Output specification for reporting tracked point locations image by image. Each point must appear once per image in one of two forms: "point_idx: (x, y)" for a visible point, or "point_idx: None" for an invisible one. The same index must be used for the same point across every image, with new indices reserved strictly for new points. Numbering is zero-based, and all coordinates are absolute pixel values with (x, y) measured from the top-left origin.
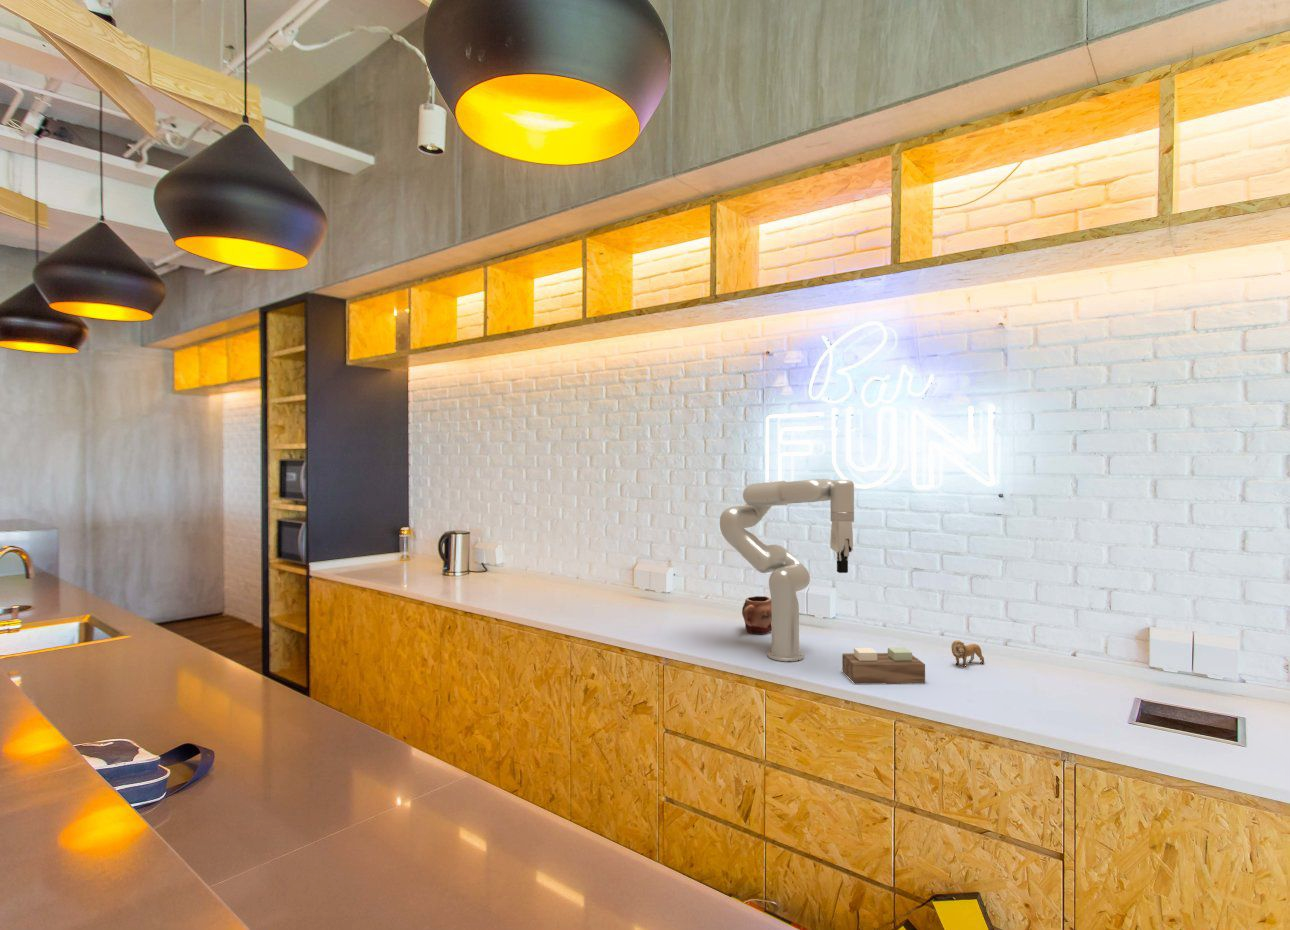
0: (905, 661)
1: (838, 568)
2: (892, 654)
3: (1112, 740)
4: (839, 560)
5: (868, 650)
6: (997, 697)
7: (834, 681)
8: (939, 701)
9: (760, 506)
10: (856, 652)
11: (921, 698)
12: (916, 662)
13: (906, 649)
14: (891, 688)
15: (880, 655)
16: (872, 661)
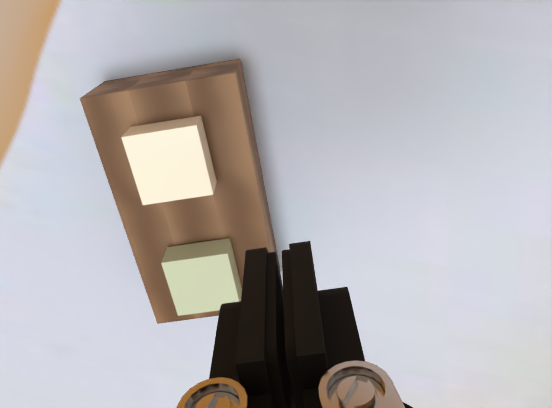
0: None
1: (243, 280)
2: (181, 253)
3: None
4: (221, 386)
5: (167, 178)
6: (105, 403)
7: (115, 10)
8: (26, 286)
9: None
10: (162, 128)
11: (33, 251)
12: (171, 305)
13: (213, 306)
14: (97, 191)
15: (232, 214)
16: None
